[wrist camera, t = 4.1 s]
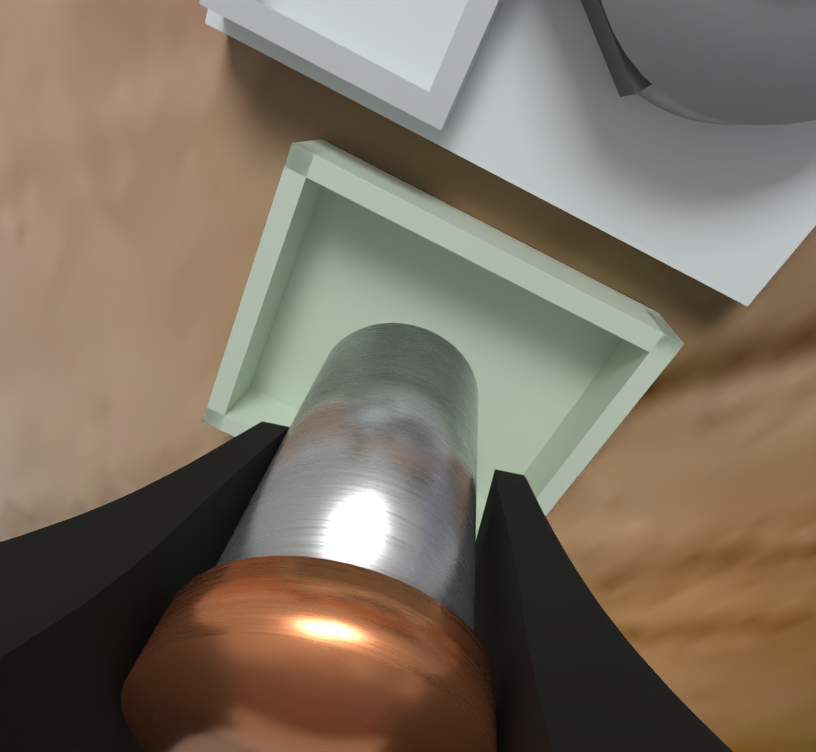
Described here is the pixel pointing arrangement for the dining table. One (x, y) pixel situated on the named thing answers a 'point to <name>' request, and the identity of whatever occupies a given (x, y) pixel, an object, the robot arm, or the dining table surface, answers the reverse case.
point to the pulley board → (592, 107)
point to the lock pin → (340, 578)
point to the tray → (436, 318)
